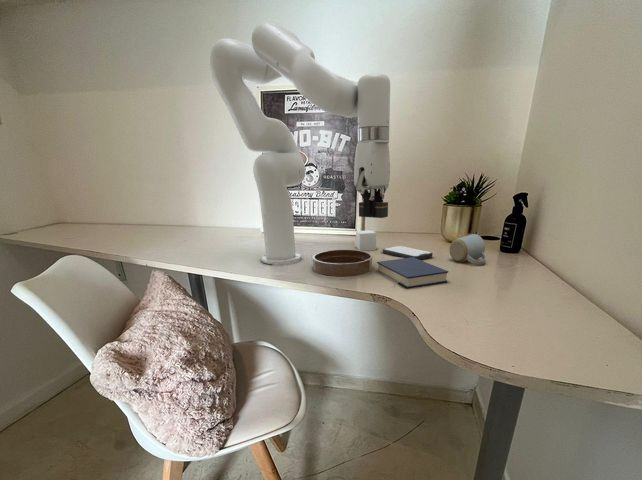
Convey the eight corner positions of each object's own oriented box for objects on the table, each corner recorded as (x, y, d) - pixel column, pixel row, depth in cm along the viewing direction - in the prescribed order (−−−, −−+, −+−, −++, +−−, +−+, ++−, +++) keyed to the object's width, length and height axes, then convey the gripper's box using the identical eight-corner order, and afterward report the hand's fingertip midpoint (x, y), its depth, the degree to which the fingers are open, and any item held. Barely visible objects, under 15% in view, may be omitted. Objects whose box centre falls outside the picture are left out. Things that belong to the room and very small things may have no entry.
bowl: (306, 265, 102) (305, 252, 100) (357, 259, 108) (357, 247, 106) (324, 281, 87) (323, 267, 86) (382, 273, 93) (383, 259, 91)
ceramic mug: (446, 259, 105) (449, 235, 102) (463, 255, 109) (467, 232, 106) (473, 267, 97) (477, 241, 94) (491, 263, 101) (496, 238, 98)
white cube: (359, 250, 119) (360, 233, 116) (355, 247, 124) (355, 230, 122) (376, 249, 120) (376, 232, 117) (371, 246, 125) (371, 230, 123)
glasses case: (358, 216, 89) (358, 202, 87) (365, 215, 91) (365, 201, 90) (381, 218, 85) (382, 203, 83) (388, 216, 87) (388, 202, 85)
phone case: (380, 253, 116) (415, 261, 104) (380, 248, 115) (415, 256, 103) (399, 249, 120) (434, 257, 108) (399, 245, 120) (434, 252, 107)
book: (376, 271, 95) (376, 261, 94) (412, 266, 99) (413, 257, 98) (406, 288, 81) (407, 277, 80) (447, 282, 85) (448, 271, 84)
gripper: (378, 139, 88) (378, 211, 96) (340, 136, 77) (342, 218, 84) (403, 137, 84) (401, 212, 91) (367, 133, 72) (367, 220, 80)
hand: (373, 215), depth 88 cm, fingers closed on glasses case, 3 cm apart
